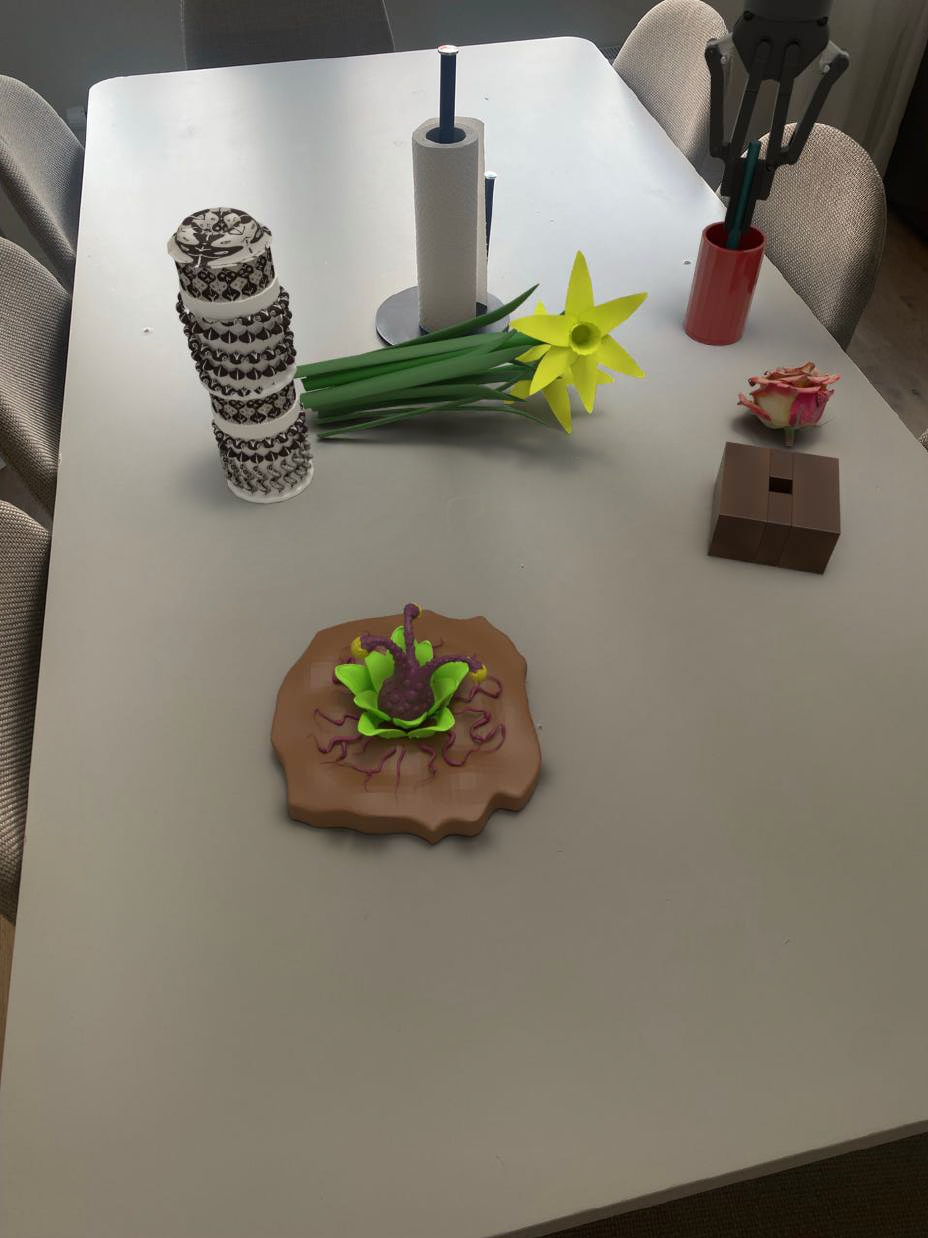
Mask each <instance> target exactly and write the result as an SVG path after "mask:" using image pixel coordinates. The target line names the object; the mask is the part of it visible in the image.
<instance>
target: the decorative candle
mask: <svg viewBox="0 0 928 1238" xmlns="http://www.w3.org/2000/svg"><path fill="white" fill-rule="evenodd" d="M273 241H274V239H273V234H272V231H271V229H270V228H269V227H267V226H266V225H265V224H264V223H262V222H260V221H257V220H256V219H255V217H252V215H250V214H249V213H248V212H246V211H244V210H241V209H238V208H234V207H224V206H222V207H221V206H219V207H211V208H205V209H202V210H198V211H195V212H193V213H192V214H190V215H188V216H187V217H185V218H184V219H183V220H182V221H181V223H180V224H179V226H178V227H177V229H176V232H174V233H173V234H172V236H171V237H170V238H169V240H168V241H167V243H166V249H167V254H168V255H169V256H170V257H171V258H172V259H173V260H174V264H175V265H174V266H175V269H176V272H177V276H178V288H179V292H178V293H177V297H176V298H177V300H178V301H177V302H176V304H175V311H176V312H177V313H178V314H179V315H178V320H179V321H180V322H181V323H182V325H184V326H183V329H182V331H183V334H184V336H185V337H187V347H188V349H189V350H190V351H191V353H190V357H191V359H192V360H193V361H195V363H194V364H195V365H194V368H195V371H196V372H197V373H198V379H199V381H200V384H201V386H202V387H203V388H204V389H205V390H206V391H207V392H208V394H209V398H210V408H211V414H212V418H213V419H212V421H211V427H212V428H213V434H214V436H215V441H216V442H217V448H218V455H219V458H220V462H221V464H222V469H223V473H224V476H225V478H226V480H227V486H228V488H229V489H230V490H231V491H232V493H233V495H235V496H236V497H238V498H240V499H242V500H244V501H247V502H249V503H255V504H256V503H257V504H266V505H268V504H274V503H280V502H284V501H287V500H289V499H291V498H293V497H296V496H298V495H300V494H301V493H302V492H303V491H304V490H305V489H307V488H308V487H309V485H311V483H312V480H313V478H314V475H315V468H314V464H313V459H314V455H313V454H312V453H310V450H311V446H312V442H311V441H310V440H307V438H308V437H309V433H308V431H309V427H308V425H307V424H306V417H307V414H306V412H305V411H304V406H303V403H300V396H299V395H298V394H299V393H298V389H297V388H298V387H296V385H295V379H293V377H294V375H295V373H296V371H297V367H296V366H297V364H296V356H297V350H296V349H295V346H294V338H295V333H294V331H293V330H292V329H291V328H290V325H291V323H292V318H293V313H292V311H291V310H290V307H289V306H290V294H289V292H288V291H287V290H285V288H284V287H283V286H282V285H281V284H280V282H279V276H278V272H277V268H276V266H275V265H274V261H273V260H274V259H273V253H272V248H271V245H272V243H273ZM186 310H188V312H187V311H186Z"/></svg>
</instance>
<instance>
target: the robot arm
mask: <svg viewBox="0 0 928 1238" xmlns="http://www.w3.org/2000/svg"><path fill="white" fill-rule="evenodd" d="M833 4H834V0H744V2H743V5H742V6H743V7H742V11H741V14H740V16H739V18H738V19H737V20H736V22H735V24H734V26H733V28H732V31H731V32H729V33H727V34H725V35H723V36H722V37H720V38H716V37H711V38H709V39H708V40H707V41H706V45H705V48H704V52H703V56H704V60H705V63H706V66H707V69H708V73H709V75H710V85H709V86H710V87H709V89H710V90H709V92H710V93H709V96H710V97H709V101H710V102H709V145H708V146H709V150H708V151H709V156H710V157H712V158H715V159H717V158H718V159H719V160H721V161H722V162H723V164H724V167H723V171H722V172H723V173H722V177H721V181H720V186H719V194H720V197H724V198H725V197H726V198H729V199H728V202H727V206H726V211H725V214H724V215H725V216H724V220H723V221H724V227H723V232H726V233H730V231H731V227H732V222H733V218H734V213H735V209H736V205H737V200H738V196H739V191H740V187H741V183H742V178H743V174H744V169H745V160H746V156H745V157H744V156H742V151H743V148H744V145H745V140H746V137H747V135H748V130H749V126H750V123H751V119H752V116H753V112H754V108H755V104H756V101H757V98H758V95H759V92H760V89H761V85H762V82H763V81H768V80H772V81H774V82H777V90H776V95H775V101H774V107H773V111H772V116H771V122H770V128H769V133H768V138H767V145H766V149H765V156H764V158H758V162H757V165H756V169H755V174H754V178H753V182H752V186H751V191H750V195H749V199H748V203H747V208H746V212H745V216H744V220H743V225H742V229H741V234H744V235H748V234H749V230H750V226H751V225H752V221H753V217H754V212H755V209H756V204H757V201H767V200H768V199H769V197H770V195H771V191H772V188H773V183H774V179H775V175H776V171H777V170H778V168H780V167H782V166H785V165H788V166H794V165H795V164H797V162H799V159H800V157H801V155H802V153H803V150H804V148H805V146H806V144H807V141H808V140H809V138H810V135H811V134H812V131H813V128H814V126H815V124H816V123H817V120H818V118H819V116H820V113H821V111H822V110H823V107H824V105H825V102H826V100H827V98H828V96H829V94H830V91H831V90H832V88H833V86H834V85H835V83H837V81H838V80H839V79H840V78H841V76H842V75H843V74H844V73H845V72H846V71H847V70H848V68H849V66H850V55H849V54H850V53H849V51H848V49H847V48H845V47H841V48H840V47H838V45H836V44H835V43H834V42H833V41H832V40H831V39H830V38H831V31H830V26H829V21H830V16H831V12H832V8H833ZM734 47H735V50H736V52H737V54H738V57H739V59H740V61H741V64H742V66H743V68H744V70H745V72H746V74H747V76H746V80H745V84H744V90H743V92H742V96H741V100H740V103H739V107H738V110H737V113H736V118H735V121H734V126H733V130H732V133H731V137H730V140H729V141H727V140H725V136H724V135H725V107H726V105H725V104H726V103H725V102H726V99H725V98H726V65H727V64H728V63H729V62H730V60H731V55H732V49H734ZM820 54H821V58H820V60H819V64H818V65H819V73H818V75H817V76H816V79H815V82H814V84H813V86H812V89H811V91H810V93H809V95H808V97H807V99H806V102H805V103H804V106H803V109H802V111H801V113H800V115H799V117H798V120H797V121H796V124H795V126H794V129H793V131H792V133H791V135H790V138H789V139H788V143H787V144H786V145H785V146H782V144H783V140H784V133H785V128H786V123H787V117H788V113H789V108H790V102H791V97H792V94H793V90H794V89H793V88H794V83H795V79H796V78H798V77H799V76H800V75H801V74H802V73H803V72H804V71H805V70H806V69H807V68H809V66H810V65H811V64H812V63H813V62H814V61H815V60H816V59H817V58H818V57H819V56H820Z"/></svg>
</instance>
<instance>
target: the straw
mask: <svg viewBox="0 0 928 1238" xmlns="http://www.w3.org/2000/svg"><path fill="white" fill-rule="evenodd" d="M762 145H763V141H761V140H759V139H750V140H749V142H748V145H747V152H746V155H745V158H746V160H745V169H744V174H743V178H742V183H741V187H740V191H739V196H738V200H737V205H736V209H735V213H734V218H733V222H732V227H731V231H730V233H729V235H728V240H727V244H726V248H725V249H728V250H736V251H737V247H738V243H739V239H740V234H741V229H742V225H743V220H744V216H745V212H746V208H747V203H748V199H749V195H750V191H751V186H752V182H753V178H754V174H755V169H756V165H757V162H758V159H760V158H759V157H760V154H761V148H762Z"/></svg>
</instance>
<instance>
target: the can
mask: <svg viewBox="0 0 928 1238" xmlns="http://www.w3.org/2000/svg"><path fill="white" fill-rule="evenodd" d="M723 227H724V220H722V221H717V222H713V223H710V224H709V225H706V226H705V227H704V228H703V229H702V232H701V236H700V241H699V247H698V251H697V257H696V261H695V266H694V271H693V277H692V282H691V285H690V292H689V296H688V301H687V306H686V311H685V316H684V322H683V330H684V332H685V333H686V335H688V337H690V338H691V339H693V340H695V341H697V342H698V343H701V344H705V345H710V346H727V345H732V344H734V343H737V342H738V341H740V340H741V339H742V337H743V336H744V334H745V330H746V326H747V324H748V323H747V322H748V320H749V315H750V312H751V307H752V304H753V299H754V296H755V292H756V288H757V284H758V280H759V276H760V274H761V268H762V265H763V262H764V258H765V255H766V249H767V246H768V240H769V239H768V236H767V234H766V233H765V231H763V230H762V229H761V228H759V227H757V226H755V225H753V224H751V226H750V230H749V234H748V235H744V234H740V239H739V243H738V247H737V251H736V250H728V249H725V248H726V244H727V240H728V235H729V233H726V232H723Z"/></svg>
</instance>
